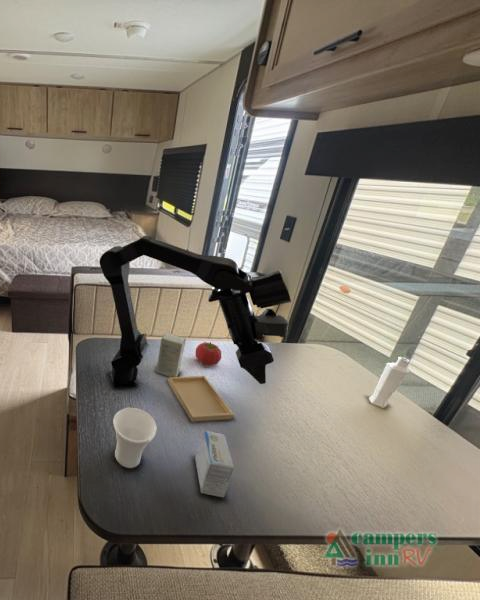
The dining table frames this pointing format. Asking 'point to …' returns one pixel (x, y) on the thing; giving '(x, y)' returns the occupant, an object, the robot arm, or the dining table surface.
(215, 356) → the tomato
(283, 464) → the dining table surface
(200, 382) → the holder
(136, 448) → the cup
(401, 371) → the perfume bottle
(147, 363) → the dining table surface
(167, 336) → the cosmetic box
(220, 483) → the medicine box
